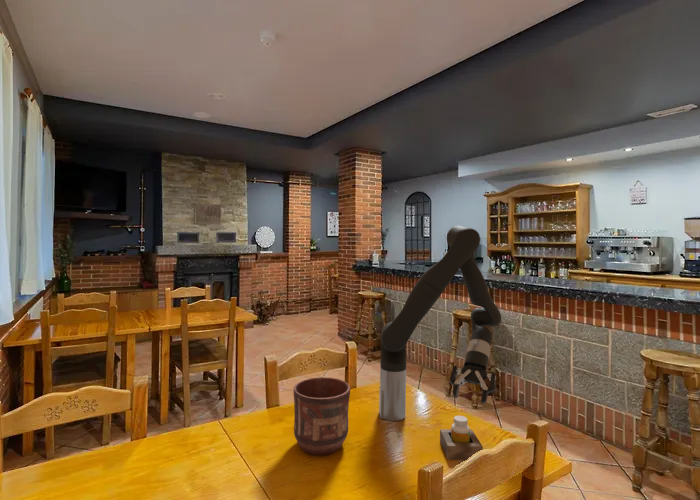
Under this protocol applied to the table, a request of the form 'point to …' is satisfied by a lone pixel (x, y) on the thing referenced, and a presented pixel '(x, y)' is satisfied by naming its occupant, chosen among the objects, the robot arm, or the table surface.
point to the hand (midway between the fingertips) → (468, 399)
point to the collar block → (459, 446)
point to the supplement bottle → (460, 430)
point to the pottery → (321, 414)
